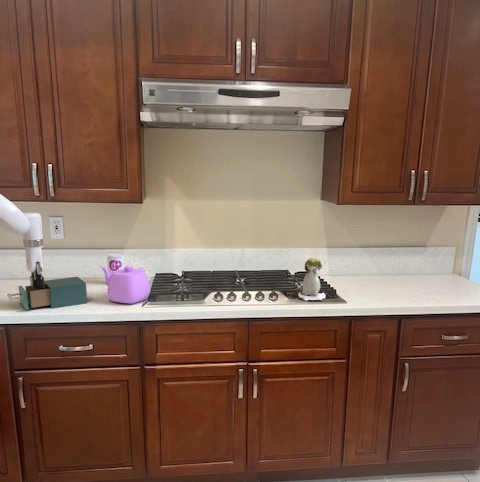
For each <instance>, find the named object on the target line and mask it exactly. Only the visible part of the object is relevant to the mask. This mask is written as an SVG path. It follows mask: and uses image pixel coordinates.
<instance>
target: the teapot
mask: <svg viewBox="0 0 480 482" xmlns="http://www.w3.org/2000/svg"><path fill="white" fill-rule="evenodd" d="M99 268H100V269H101V270H102V271H103V272H104V273H103V274H104V277H105V283H106V285H107V297H108V298H109V300H110V301H111V302H114V303H115V302H116V303H121V304H129V305H135V304H137V303H139V302H142V301H144V300H146V299H147V298H148V297H149V295H150V293H151V284H150V280H149V278H148V276H147V274H146V269H145V268H144V267H140V268H133V266H132V265H125V267H124V269H121V270H118V271H115V272H113V273H112V275H111V274H110V272H109V270H108V267H106V266H100V265H99Z"/></svg>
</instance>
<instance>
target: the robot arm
mask: <svg viewBox="0 0 480 482" xmlns="http://www.w3.org/2000/svg"><path fill="white" fill-rule="evenodd" d="M42 221H43V220H42V215H41V213H39V212H35V211H34V212H33V211H32V212H22V211H21V210H20V208H18V207H17V206H16V205H15V204H14V203H13V202H12V201H11V200H9V199H7V198H6V197H5V196H4V195H3V194H1V193H0V230H2V231H4V232H6V233H10V234H15V235H22V236H21V237H22V244H23V245H22V246H23V248H24V249H25V262H26V269H27V271H28V272H29V273H30V276H34V278H35V279H34V287H35V289H41V288H43V280H42V276H43V274H42V273H43V272H44V259H43V258H44V257H43V251H42V248H44V246H45V245H44V234H43V222H42Z"/></svg>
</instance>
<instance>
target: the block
mask: <svg viewBox="0 0 480 482" xmlns="http://www.w3.org/2000/svg"><path fill="white" fill-rule="evenodd" d="M34 279H35V278H34V276H31V275H29V284H30V285H29V286H31V288H32V289H35V287H34ZM42 280H43V288H45V284H44V281H45V276H43V275H42Z"/></svg>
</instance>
